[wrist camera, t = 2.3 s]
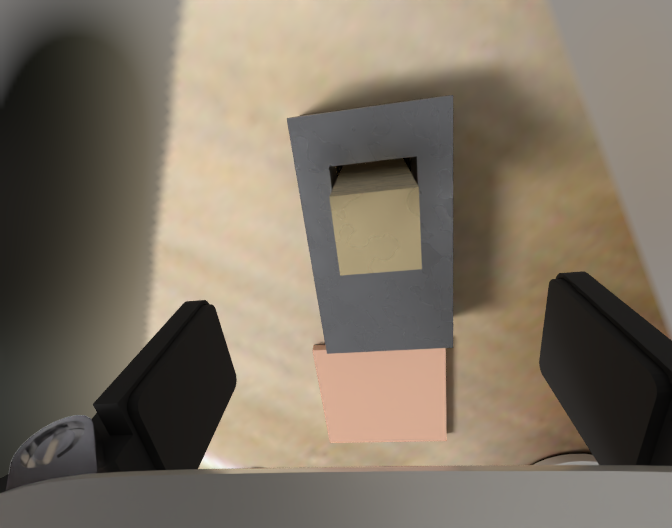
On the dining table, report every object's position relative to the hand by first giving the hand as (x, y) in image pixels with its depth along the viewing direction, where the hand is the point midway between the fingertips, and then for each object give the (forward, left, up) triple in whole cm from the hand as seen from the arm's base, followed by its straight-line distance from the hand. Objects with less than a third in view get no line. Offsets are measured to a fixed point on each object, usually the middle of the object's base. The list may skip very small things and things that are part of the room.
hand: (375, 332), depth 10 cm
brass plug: (0, 0, -19) cm, 19 cm away
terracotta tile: (+1, +20, -19) cm, 28 cm away
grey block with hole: (0, +3, -19) cm, 19 cm away
